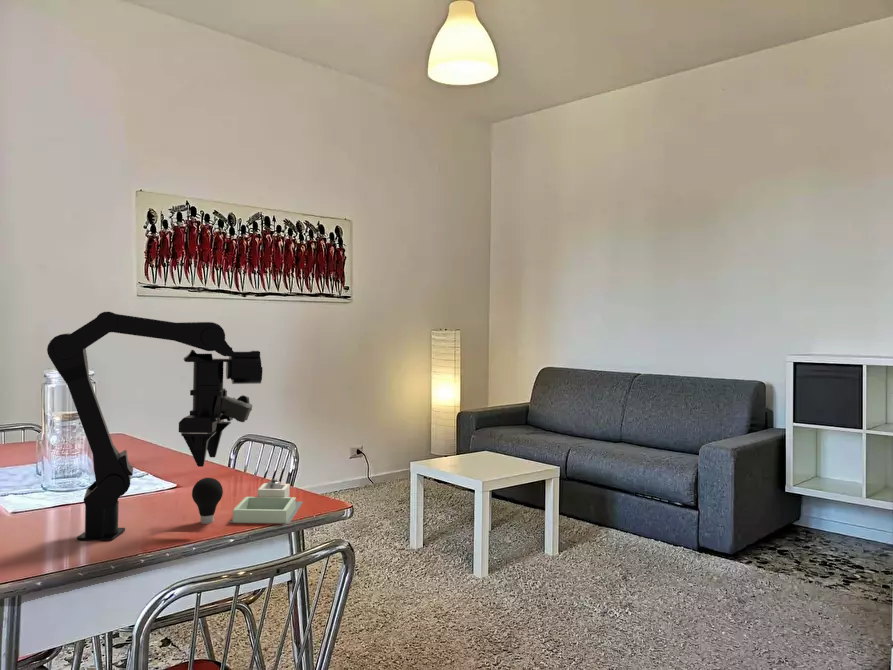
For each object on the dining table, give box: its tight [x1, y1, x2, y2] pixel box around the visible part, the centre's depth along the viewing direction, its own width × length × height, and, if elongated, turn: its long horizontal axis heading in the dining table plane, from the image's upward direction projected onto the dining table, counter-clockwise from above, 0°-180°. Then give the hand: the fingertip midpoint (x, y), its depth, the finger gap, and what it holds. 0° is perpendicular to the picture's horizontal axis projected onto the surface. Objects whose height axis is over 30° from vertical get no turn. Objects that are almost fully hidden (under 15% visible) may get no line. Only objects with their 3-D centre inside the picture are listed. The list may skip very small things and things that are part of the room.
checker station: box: [228, 482, 304, 525], centre depth 147 cm, size 17×12×5 cm
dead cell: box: [267, 478, 282, 489], centre depth 152 cm, size 3×3×6 cm
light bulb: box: [191, 477, 224, 525], centre depth 138 cm, size 6×6×10 cm
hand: (206, 461), depth 139 cm, fingers open, 9 cm apart
